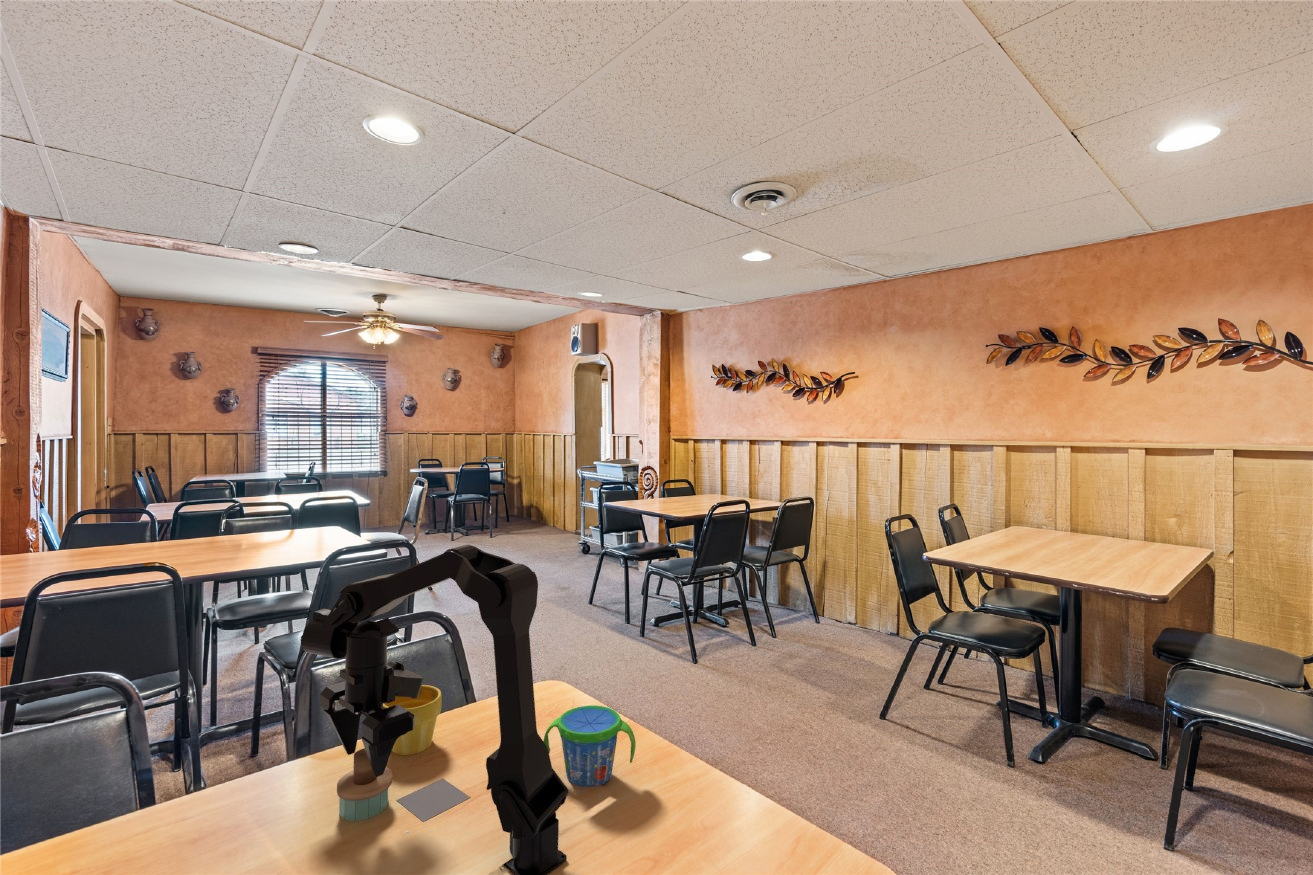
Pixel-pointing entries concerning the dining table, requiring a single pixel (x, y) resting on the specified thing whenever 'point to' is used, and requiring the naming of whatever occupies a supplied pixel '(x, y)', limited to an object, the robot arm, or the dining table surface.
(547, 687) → the dining table surface
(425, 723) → the plant pot
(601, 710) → the snack cup
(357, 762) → the lid
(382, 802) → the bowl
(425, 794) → the mat
